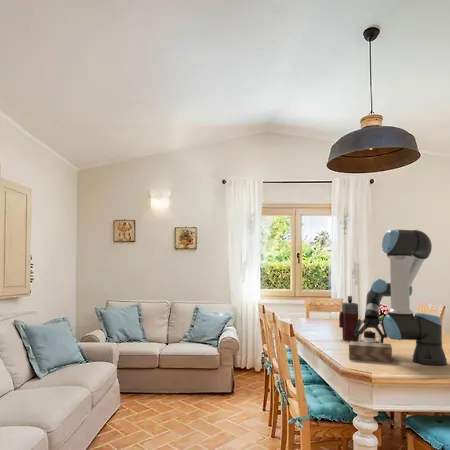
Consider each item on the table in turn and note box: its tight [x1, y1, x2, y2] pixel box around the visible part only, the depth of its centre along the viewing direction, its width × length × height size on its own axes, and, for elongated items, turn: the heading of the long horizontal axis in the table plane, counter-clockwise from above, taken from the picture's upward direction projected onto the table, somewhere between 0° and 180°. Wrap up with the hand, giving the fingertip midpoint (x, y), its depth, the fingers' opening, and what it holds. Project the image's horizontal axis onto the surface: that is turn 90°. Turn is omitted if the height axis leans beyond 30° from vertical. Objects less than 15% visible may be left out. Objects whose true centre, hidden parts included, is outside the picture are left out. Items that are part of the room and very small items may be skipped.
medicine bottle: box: [361, 330, 379, 343], centre depth 230 cm, size 7×7×12 cm
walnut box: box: [348, 341, 393, 363], centre depth 218 cm, size 20×12×7 cm, turn 72°
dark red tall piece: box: [338, 295, 359, 342], centre depth 281 cm, size 9×11×28 cm
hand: (369, 346), depth 227 cm, fingers closed on medicine bottle, 10 cm apart
